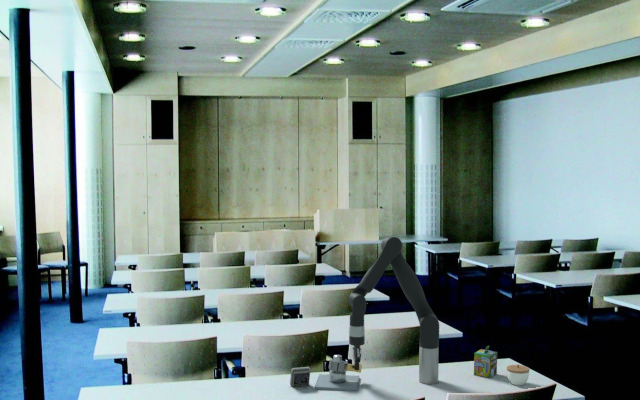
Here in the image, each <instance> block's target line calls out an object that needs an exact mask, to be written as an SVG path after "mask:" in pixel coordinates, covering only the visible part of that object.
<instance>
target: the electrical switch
mask: <svg viewBox="0 0 640 400" xmlns="http://www.w3.org/2000/svg"><path fill="white" fill-rule="evenodd" d="M310 371H311V367H310V366H304V367H303V366H302V367H293V368H291V369H290V379H289V385H290V386H291V387H293V388H301V387H302V388H305V387H309V386H310V377H311V372H310Z"/></svg>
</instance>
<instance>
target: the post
mask: <svg viewBox="0 0 640 400" xmlns="http://www.w3.org/2000/svg"><path fill="white" fill-rule="evenodd" d="M332 357H333V358H332V359H333V361H334V362H339V363H342V361H343V358H342V357H343V355H341V354H334V355H333V356H332ZM328 375H329V382H331V383H335V384H341V383H345V382H346V375H347V371H346V372H338V371H334V370H330V369H329V374H328Z"/></svg>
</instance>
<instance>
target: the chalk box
mask: <svg viewBox="0 0 640 400" xmlns="http://www.w3.org/2000/svg"><path fill="white" fill-rule="evenodd" d="M489 349H490V345H487V346H486V347H485V349H483V348H481V349H479V350H477V351H475V352H474V353H473V354H474V357H473V359H474V360H473V375H474V376H477V377H478V376H479V377H484V378H488V379H491V378H492V377H494V376H495V375H497V374H498V351H494V350H489Z"/></svg>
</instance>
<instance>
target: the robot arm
mask: <svg viewBox="0 0 640 400" xmlns="http://www.w3.org/2000/svg"><path fill="white" fill-rule="evenodd" d="M380 243H381V244H380V247H381V252H380V255H379V256H378V258H377V259H376V260H375V261H374V262H373V264H372V265H371V266H370V268H368V270H367V271H366V273H365V274H364V276H363V277H362V279H361V281H359V284H357V286H355V288H353V290H352V291H350V294H349V295H348V299H347V301H348V304H349V306H351V307H352V310H351V311H352V312H351V313H350V315H349V328H348V343H349V345H350V346H353V347H352V349H351V350H352V357H353V362H354V369H355V370H359V364H361V359H362V347H361V346H364V345H365V341H366V335H365V333H366V331H365V330H366V329H365V314H366V310H367V299H366V295H368V294H369V293H371V292H372V291H373V290H374V288H375V287H376V286H377V284H378V282H379V281H380V279H381V277H382V276H383V274H384V273H385V271H386V269H388V267H389V266H391V268H392V270H393V273H394V275H395V277H396V279H397V281H398V284H399V286H400V288H401V290H402V291H403V294H404V295H405V298H406V299H407V300H408V302H409V303H410V304H411V306H412V308H413V309H414V312H415V314H416V317H417V321H418V323H419V341H418V342H419V352H418V356H419V358H418V359H419V360H418V361H419V362H418V364H419V365H418V381H419V382H420V383H421V384H426V385H432V384H433V385H434V384H439V366H440V365H439V343H440V322H439V319H438V317H437V316H436V314H435V313H434V312H433V310H432V308H431V306H430V305H429V303H428V301H427V299H426V295H425V292H424V289H423V287H422V285H421V283H420V281H419V278H418V277H417V275H416V273H415V272H414V270H413V269H412V267H411V266H410V265H409V264H408V262H407V261H406V259H405V257H404V255H403V252H402V250H403V242H402V240H401V239H400V238H398V237H397V236H386V237H384V238H383V239H382V241H381V242H380Z"/></svg>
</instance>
